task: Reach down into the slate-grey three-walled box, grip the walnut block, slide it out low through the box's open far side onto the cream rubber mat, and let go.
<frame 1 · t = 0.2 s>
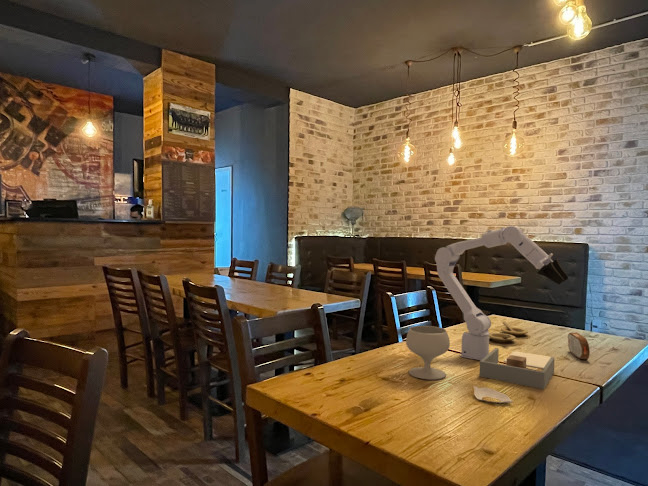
hand: (564, 281, 142), 31 cm above the table, tool tilted 45°, fingers open, 7 cm apart
tin: (577, 356, 163), on the table
pale veined leaf: (492, 401, 120), on the table
chalice: (427, 375, 141), on the table
open box: (517, 374, 142), on the table
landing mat: (529, 360, 157), on the table
tableware set: (507, 340, 189), on the table
walnut block: (516, 376, 140), resting in open box
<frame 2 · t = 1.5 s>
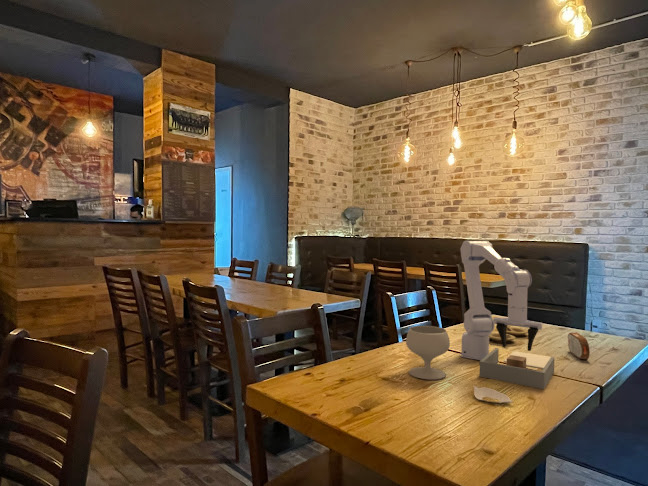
hand: (516, 348, 140), 9 cm above the table, tool pointing down, fingers open, 7 cm apart
nothing on the table moved.
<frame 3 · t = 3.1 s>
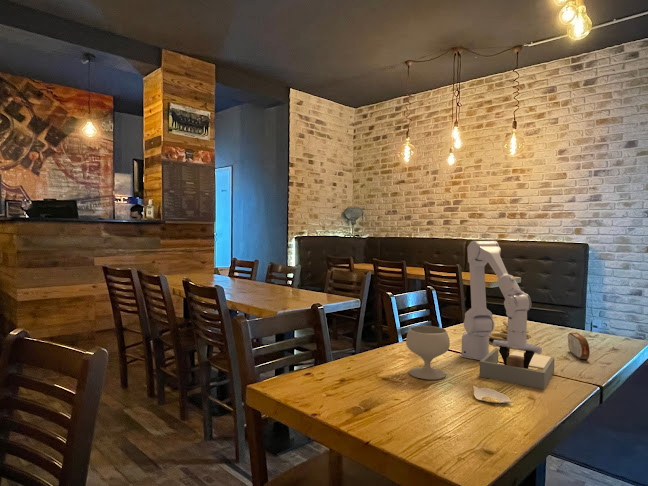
hand: (516, 371, 140), 1 cm above the table, tool pointing down, fingers closed on walnut block, 5 cm apart
walnut block: (516, 375, 140), resting in open box, touching gripper
everything else where it was.
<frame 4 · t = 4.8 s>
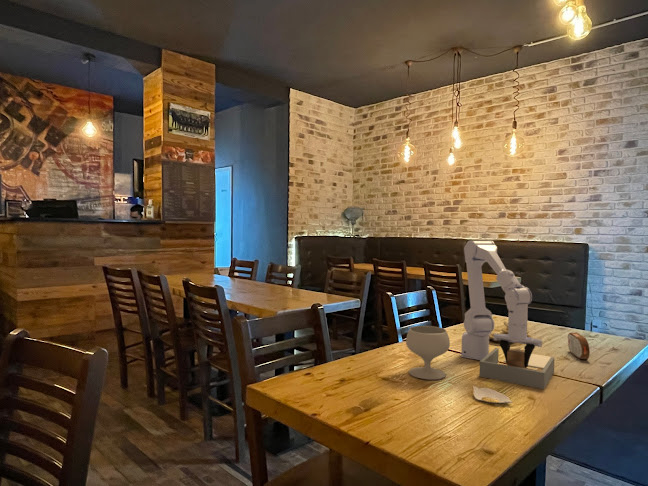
hand: (516, 364, 141), 3 cm above the table, tool pointing down, fingers closed on walnut block, 5 cm apart
walnut block: (516, 369, 141), point 2 cm above the table, touching gripper
everything else where it was.
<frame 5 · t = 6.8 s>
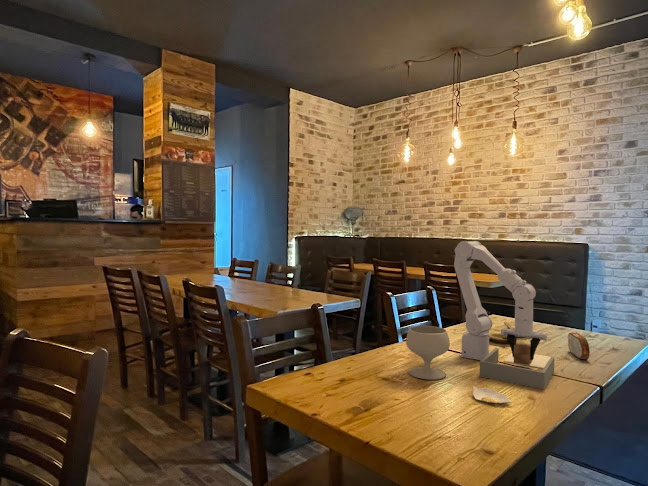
hand: (523, 357, 149), 3 cm above the table, tool pointing down, fingers closed on walnut block, 5 cm apart
walnut block: (522, 362, 148), point 2 cm above the table, touching gripper
everything else where it was.
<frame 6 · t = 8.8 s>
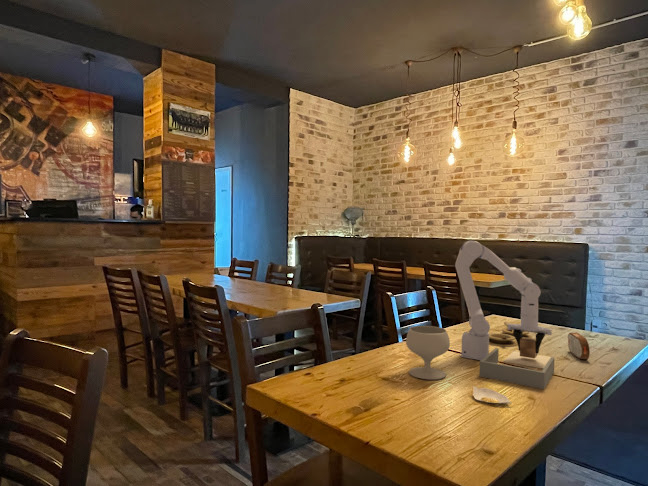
hand: (528, 351, 156), 3 cm above the table, tool pointing down, fingers closed on walnut block, 5 cm apart
walnut block: (528, 355, 156), point 2 cm above the table, touching gripper
everything else where it was.
when the fingers open (2 cm above the table, at t = 10.3 s): walnut block stays where it is, resting on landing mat.
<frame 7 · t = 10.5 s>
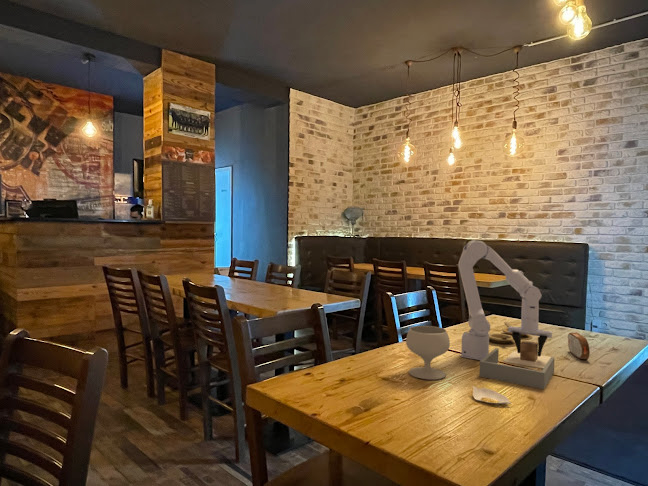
hand: (529, 354, 157), 2 cm above the table, tool pointing down, fingers open, 6 cm apart
walnut block: (528, 359, 157), resting on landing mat
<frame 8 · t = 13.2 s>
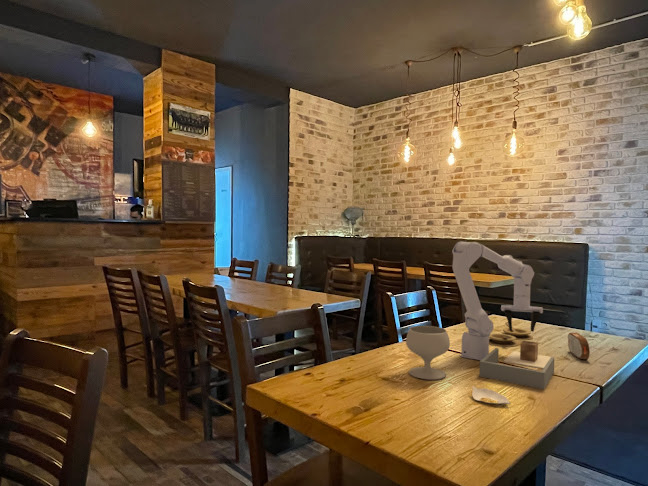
hand: (521, 330, 164), 9 cm above the table, tool pointing down, fingers open, 7 cm apart
at the end: walnut block inside the target area (0.1 cm from its centre), resting on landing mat; walnut block tilted 0°; the gripper is holding nothing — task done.
